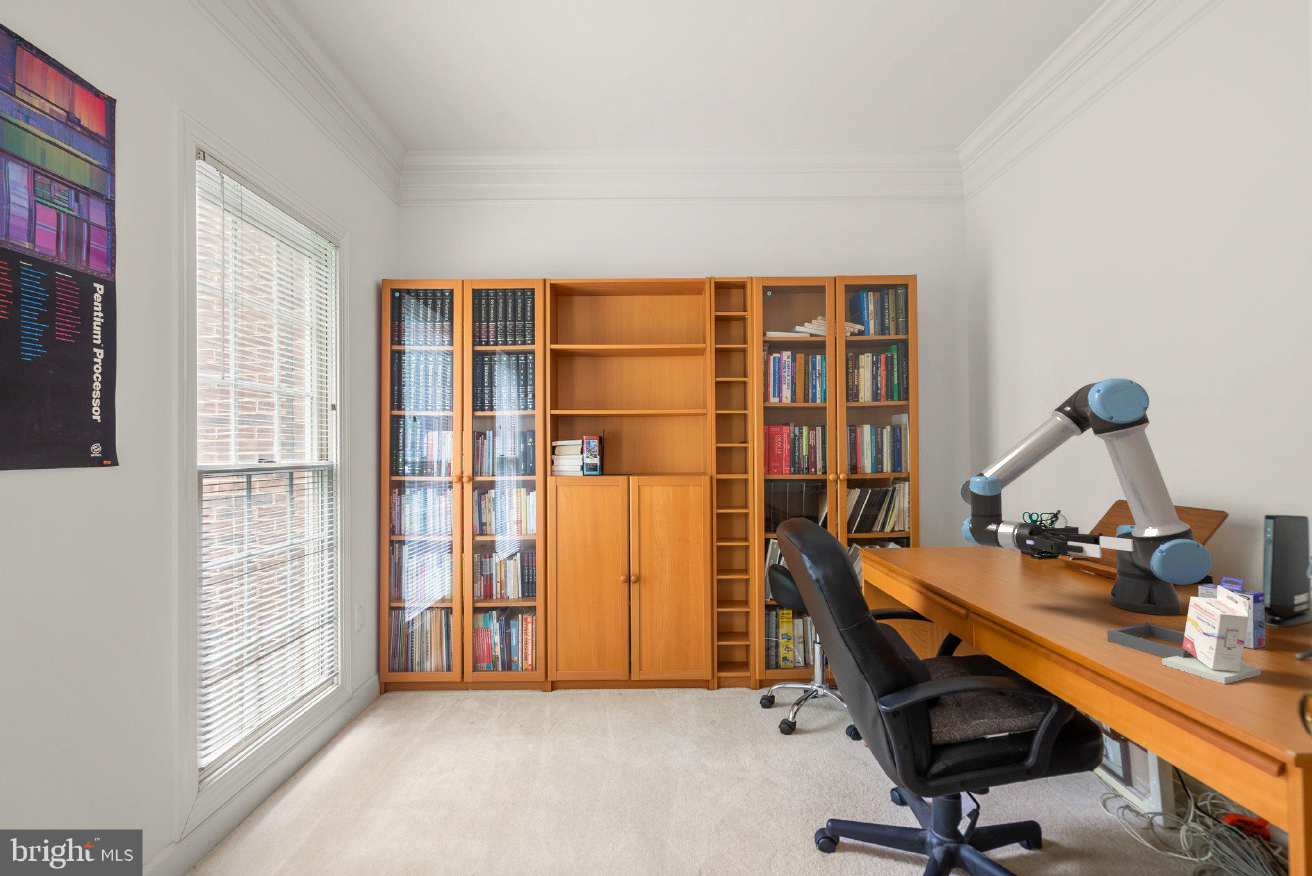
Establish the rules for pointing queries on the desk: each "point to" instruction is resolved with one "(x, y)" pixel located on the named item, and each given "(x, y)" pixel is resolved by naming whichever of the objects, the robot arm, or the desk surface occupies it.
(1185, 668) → the board
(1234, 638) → the ink cartridge box
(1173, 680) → the desk surface
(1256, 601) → the ink cartridge box
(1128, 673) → the desk surface
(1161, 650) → the dock
